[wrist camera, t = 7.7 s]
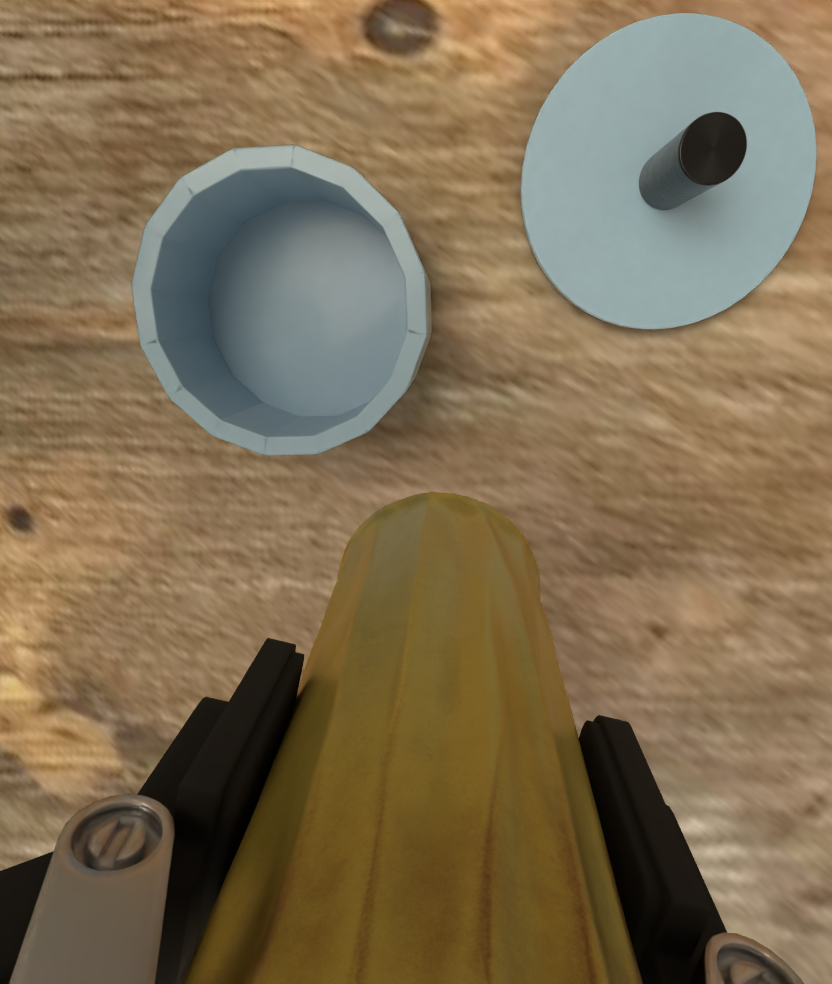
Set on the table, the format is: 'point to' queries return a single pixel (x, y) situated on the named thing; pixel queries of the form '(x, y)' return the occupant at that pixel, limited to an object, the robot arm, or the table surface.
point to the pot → (281, 300)
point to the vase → (425, 784)
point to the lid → (668, 171)
